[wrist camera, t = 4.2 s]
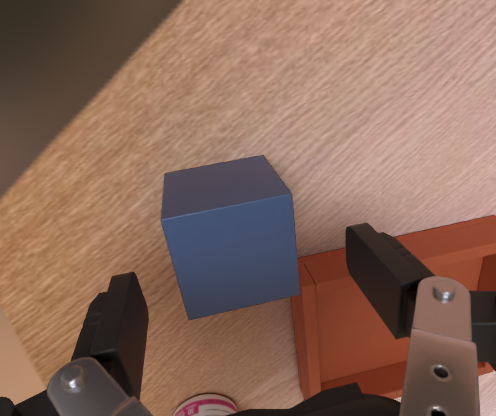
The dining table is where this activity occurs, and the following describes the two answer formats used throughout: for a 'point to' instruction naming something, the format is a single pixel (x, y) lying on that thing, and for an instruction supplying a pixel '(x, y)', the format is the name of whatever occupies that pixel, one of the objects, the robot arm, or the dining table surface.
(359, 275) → the robot arm
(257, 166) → the blue block
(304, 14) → the dining table surface
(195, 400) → the pill bottle
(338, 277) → the terracotta tray
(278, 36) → the dining table surface
